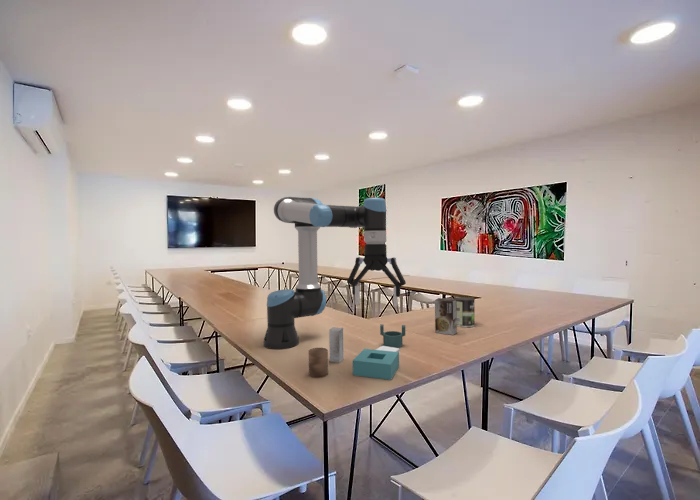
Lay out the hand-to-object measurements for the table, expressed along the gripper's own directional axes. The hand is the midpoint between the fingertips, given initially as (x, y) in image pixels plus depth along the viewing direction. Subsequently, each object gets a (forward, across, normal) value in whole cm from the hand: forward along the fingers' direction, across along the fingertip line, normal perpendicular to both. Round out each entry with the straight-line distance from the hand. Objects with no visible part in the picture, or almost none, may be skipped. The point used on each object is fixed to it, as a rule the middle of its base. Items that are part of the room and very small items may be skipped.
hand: (376, 305), depth 119 cm
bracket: (+23, -1, +30) cm, 38 cm away
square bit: (+23, -17, +5) cm, 29 cm away
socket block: (+23, 0, 0) cm, 23 cm away
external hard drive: (+24, -2, +18) cm, 30 cm away
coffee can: (+23, +27, +75) cm, 83 cm away
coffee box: (+23, +19, +57) cm, 64 cm away
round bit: (+23, -18, -9) cm, 30 cm away
